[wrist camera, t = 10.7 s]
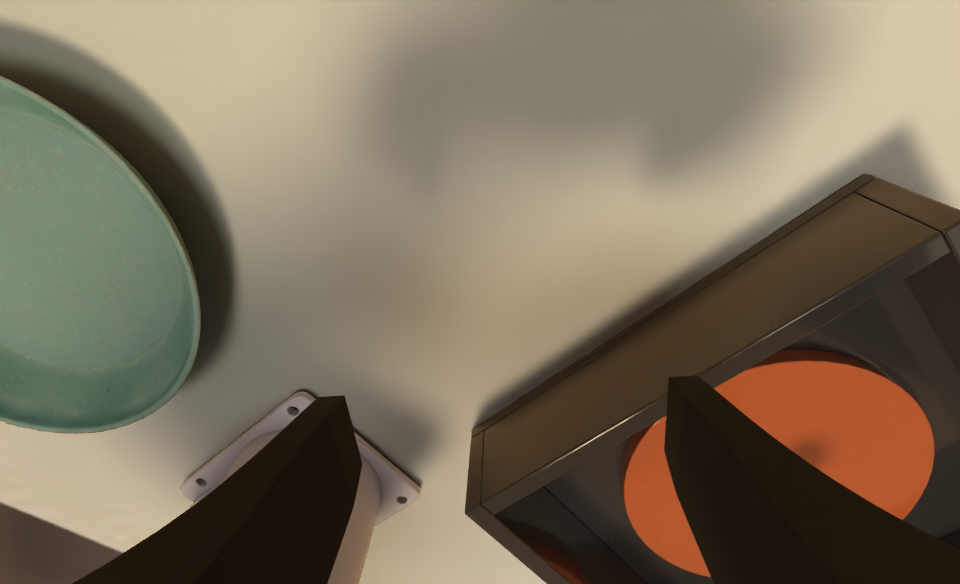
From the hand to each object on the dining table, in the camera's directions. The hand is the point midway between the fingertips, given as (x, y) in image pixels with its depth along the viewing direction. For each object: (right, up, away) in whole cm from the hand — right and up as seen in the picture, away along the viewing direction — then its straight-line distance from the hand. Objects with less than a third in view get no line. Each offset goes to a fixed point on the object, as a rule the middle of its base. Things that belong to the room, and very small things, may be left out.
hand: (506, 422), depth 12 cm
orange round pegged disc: (+12, -5, +12) cm, 18 cm away
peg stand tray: (+12, -5, +13) cm, 19 cm away
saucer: (-18, +5, +10) cm, 21 cm away
